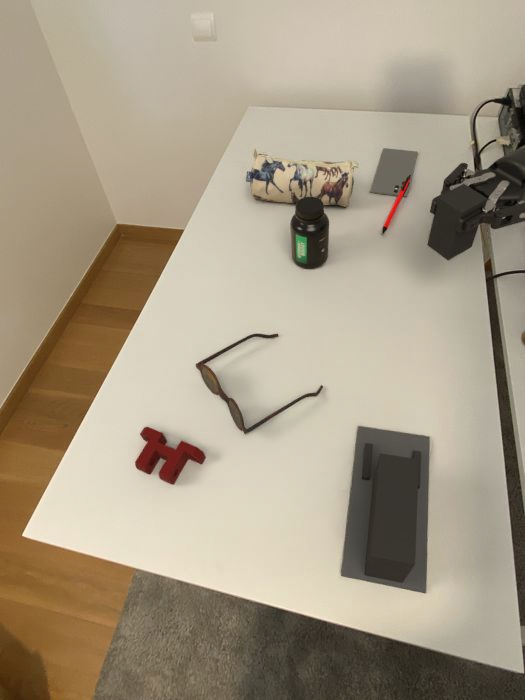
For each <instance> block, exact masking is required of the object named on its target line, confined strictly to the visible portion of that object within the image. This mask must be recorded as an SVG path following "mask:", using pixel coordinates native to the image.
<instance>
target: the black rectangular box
mask: <svg viewBox="0 0 525 700" xmlns="http://www.w3.org/2000/svg"><path fill="white" fill-rule="evenodd" d="M487 200H488V198H486V197H484V196H483V195H481V194H480V193H478V192H476V191H475V190H473V189H472V188H470V187H468V186H467V185H465V184H462V185H460V186H458V187H457V188H455V189H453V190H451V191H449V192H447V193H445V194H444V195H442V196H440V197H438V201H437V205H436V210H435V214H433V218H432V222H431V226H430V231H429V234H428V238H427V244H426V246H428V247H429V248H430V249H431V250H433V251H434V252H436V253H437V254H438V255H439V256H441V257H442V258H444V259H445V260H446V261H450V260H452V259H453V258H455V257H457V256H459V255H460V254H462V253H464V252H465V251H467V250H469V249H471V248H472V247H473V245H474V241H475V238H476V236H477V233H478V230H479V226H480V225H478V226H477V227H475V228H473V229H471V230H470V231H466V232H465V231H463V232H461V233H460V232H458V231H457V230H456V227H457V223H458V221H459V219H460V218H462V217H464V216H465V215H467V214H469V213H471V212H473V211H474V210H476V209H480V210H481V208H482V206H483V205H484V204H486V203H487Z"/></svg>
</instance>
